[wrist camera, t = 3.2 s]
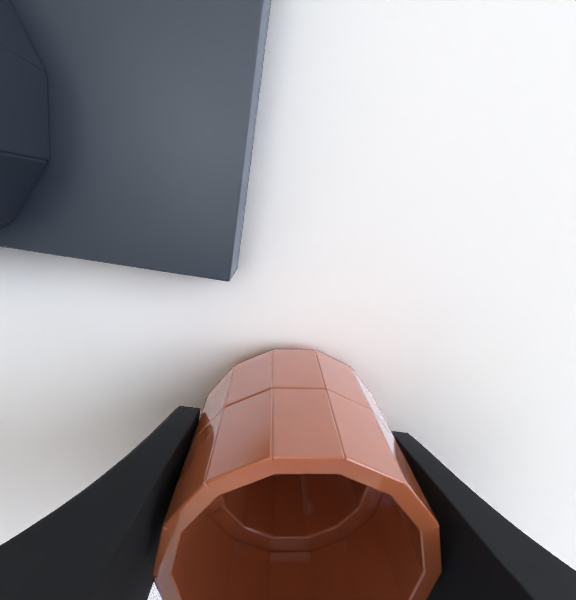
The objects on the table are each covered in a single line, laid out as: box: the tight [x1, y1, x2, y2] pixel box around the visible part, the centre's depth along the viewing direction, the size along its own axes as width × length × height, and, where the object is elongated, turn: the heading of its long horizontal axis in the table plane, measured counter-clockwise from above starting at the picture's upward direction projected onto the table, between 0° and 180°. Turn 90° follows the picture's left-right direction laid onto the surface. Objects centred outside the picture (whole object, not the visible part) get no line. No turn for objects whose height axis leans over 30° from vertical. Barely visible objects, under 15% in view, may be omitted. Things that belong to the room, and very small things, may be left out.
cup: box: [152, 349, 442, 600], centre depth 9 cm, size 6×6×5 cm
